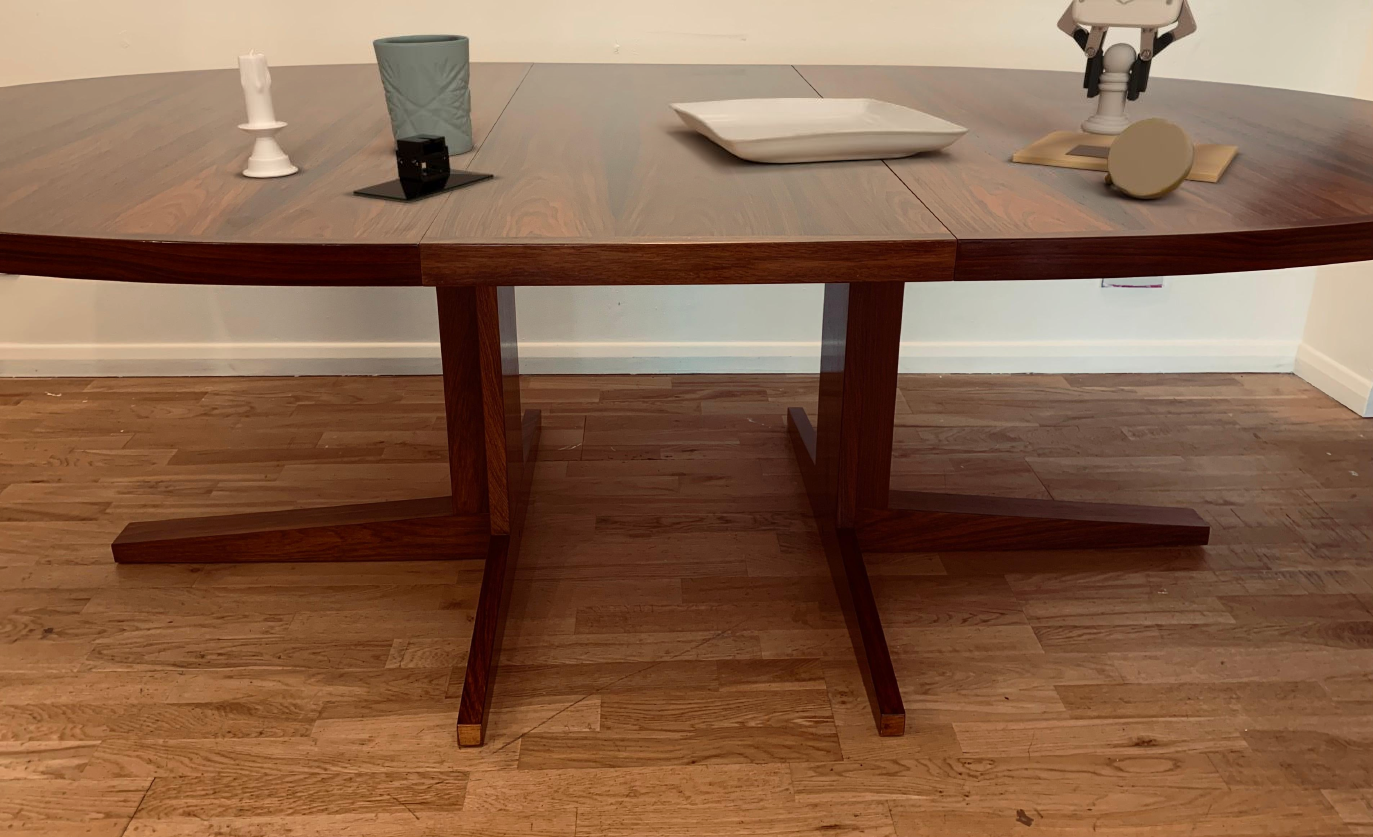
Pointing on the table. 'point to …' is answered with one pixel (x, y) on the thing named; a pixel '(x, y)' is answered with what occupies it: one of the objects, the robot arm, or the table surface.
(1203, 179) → the board
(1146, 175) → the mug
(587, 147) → the table surface
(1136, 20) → the robot arm
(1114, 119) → the chess piece
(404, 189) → the motor on base plate
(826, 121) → the square plate
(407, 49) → the drinking glass
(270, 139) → the candle
